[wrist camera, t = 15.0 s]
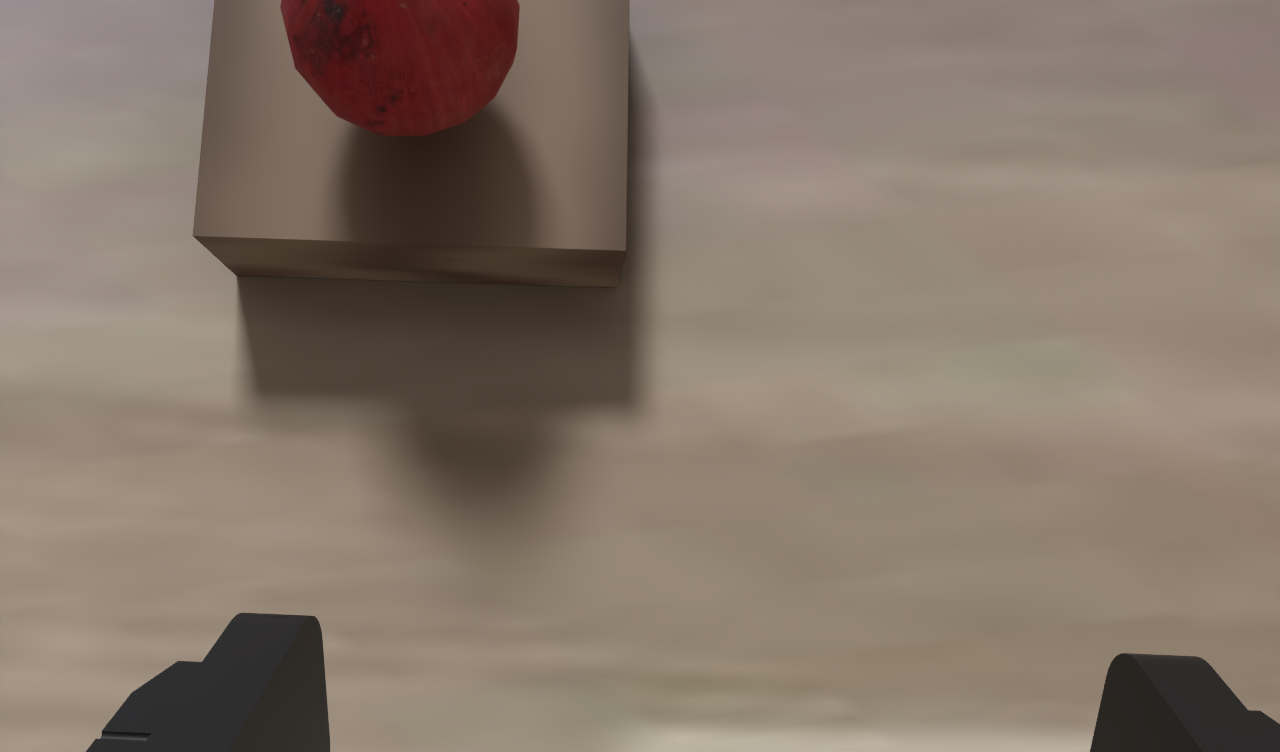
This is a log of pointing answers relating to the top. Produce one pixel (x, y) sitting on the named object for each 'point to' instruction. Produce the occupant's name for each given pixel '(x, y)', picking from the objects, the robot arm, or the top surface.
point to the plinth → (421, 163)
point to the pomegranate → (403, 58)
